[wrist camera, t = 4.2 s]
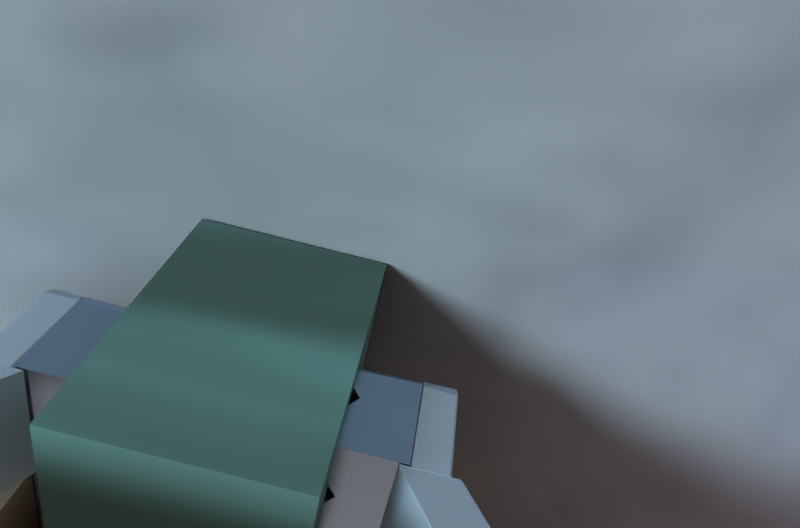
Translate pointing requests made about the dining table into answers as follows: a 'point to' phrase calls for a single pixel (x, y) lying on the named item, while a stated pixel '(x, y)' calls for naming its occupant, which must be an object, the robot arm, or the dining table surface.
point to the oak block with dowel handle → (212, 391)
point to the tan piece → (19, 506)
